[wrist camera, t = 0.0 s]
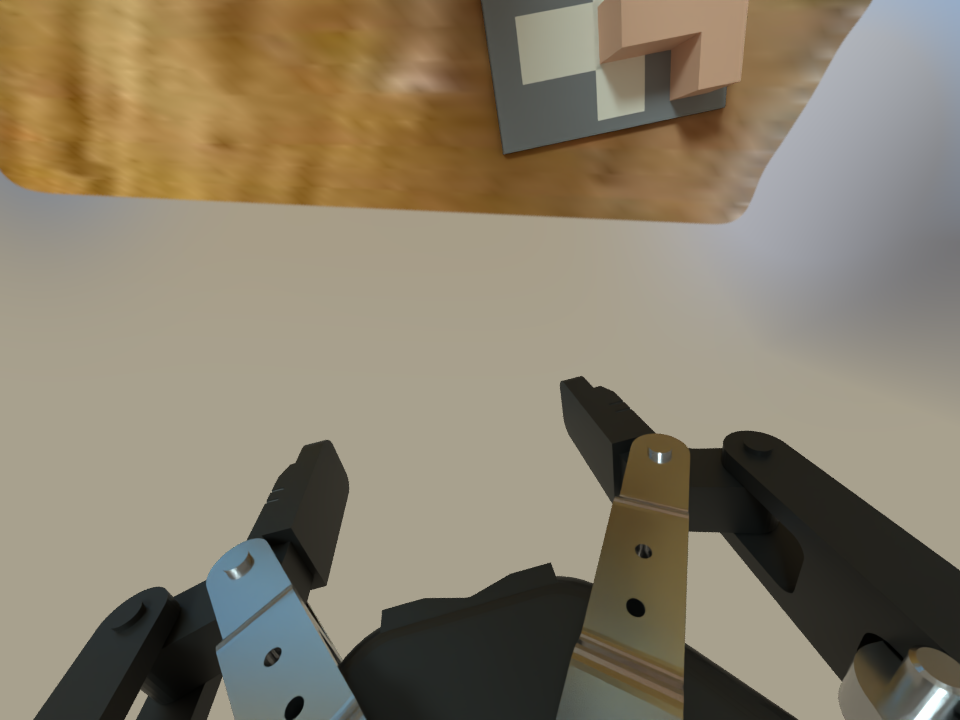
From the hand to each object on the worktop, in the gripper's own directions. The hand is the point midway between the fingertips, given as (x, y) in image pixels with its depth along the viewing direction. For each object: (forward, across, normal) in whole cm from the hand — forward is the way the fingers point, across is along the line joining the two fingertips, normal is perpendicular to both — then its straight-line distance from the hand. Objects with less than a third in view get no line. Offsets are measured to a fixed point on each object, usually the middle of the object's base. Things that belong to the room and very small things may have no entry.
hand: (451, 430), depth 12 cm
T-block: (+29, -25, -17) cm, 42 cm away
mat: (+29, -21, -17) cm, 40 cm away
